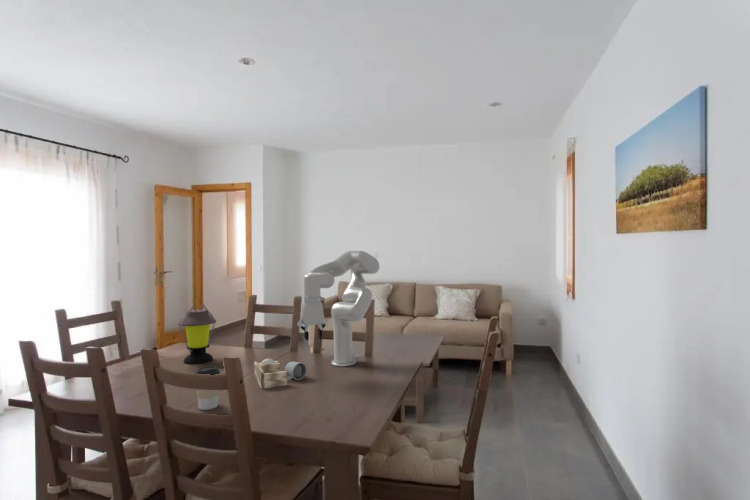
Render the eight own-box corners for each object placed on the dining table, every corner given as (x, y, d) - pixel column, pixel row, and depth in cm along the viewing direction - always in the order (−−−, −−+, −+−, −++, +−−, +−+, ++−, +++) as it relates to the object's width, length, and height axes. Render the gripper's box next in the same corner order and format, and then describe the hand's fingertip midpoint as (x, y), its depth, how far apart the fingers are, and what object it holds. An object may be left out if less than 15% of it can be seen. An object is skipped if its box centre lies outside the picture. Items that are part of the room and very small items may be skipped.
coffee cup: (191, 406, 170) (190, 367, 170) (214, 400, 176) (213, 363, 176) (201, 412, 164) (200, 372, 164) (224, 406, 170) (223, 367, 170)
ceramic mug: (296, 374, 210) (296, 358, 210) (307, 377, 204) (306, 361, 204) (277, 380, 203) (277, 363, 202) (287, 383, 197) (287, 366, 197)
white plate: (276, 374, 210) (276, 357, 210) (277, 375, 209) (276, 358, 209) (259, 376, 207) (259, 359, 207) (259, 377, 206) (259, 360, 206)
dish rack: (278, 373, 213) (277, 358, 212) (286, 385, 194) (286, 369, 194) (254, 376, 208) (254, 361, 208) (261, 388, 190) (261, 372, 190)
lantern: (212, 353, 255) (211, 301, 255) (228, 358, 242) (227, 304, 241) (168, 362, 237) (166, 306, 237) (183, 368, 224) (182, 309, 223)
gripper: (327, 298, 214) (328, 335, 214) (292, 300, 207) (293, 339, 207) (332, 300, 207) (333, 338, 207) (296, 302, 200) (297, 342, 200)
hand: (313, 338), depth 207 cm, fingers open, 5 cm apart
